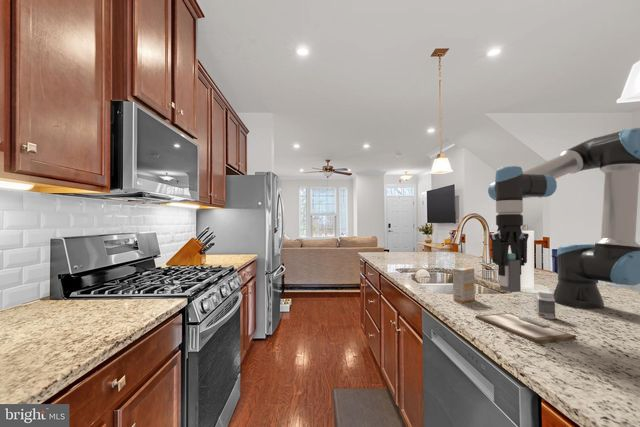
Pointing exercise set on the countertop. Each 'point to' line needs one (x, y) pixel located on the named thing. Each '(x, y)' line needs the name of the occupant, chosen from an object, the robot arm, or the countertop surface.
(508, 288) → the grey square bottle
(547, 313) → the pill bottle
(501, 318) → the brown rectangular tray
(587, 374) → the countertop surface
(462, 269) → the supplement box
